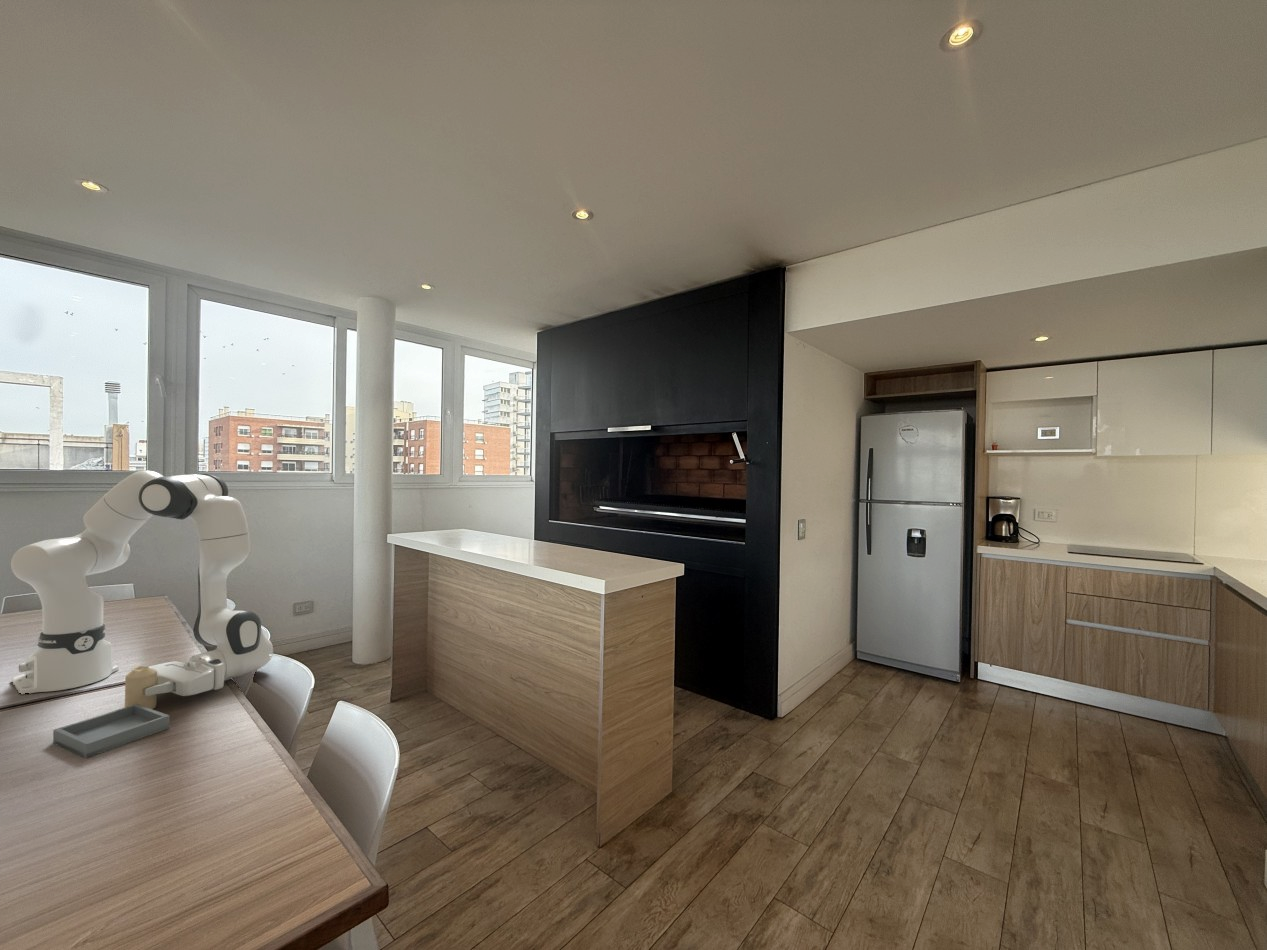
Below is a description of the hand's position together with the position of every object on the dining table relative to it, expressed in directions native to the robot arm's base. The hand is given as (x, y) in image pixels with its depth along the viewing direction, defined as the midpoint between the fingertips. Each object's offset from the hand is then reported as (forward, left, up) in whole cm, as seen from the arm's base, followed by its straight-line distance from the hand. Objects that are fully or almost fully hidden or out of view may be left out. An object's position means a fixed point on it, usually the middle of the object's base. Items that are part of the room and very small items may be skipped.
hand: (136, 689), depth 123 cm
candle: (0, +1, -5) cm, 5 cm away
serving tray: (+10, -8, -5) cm, 14 cm away
